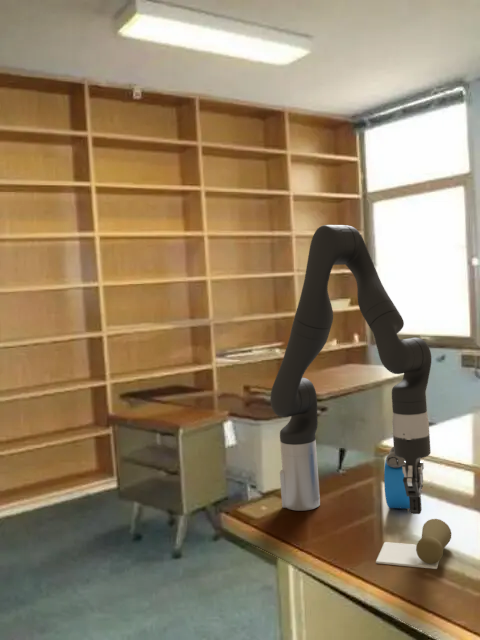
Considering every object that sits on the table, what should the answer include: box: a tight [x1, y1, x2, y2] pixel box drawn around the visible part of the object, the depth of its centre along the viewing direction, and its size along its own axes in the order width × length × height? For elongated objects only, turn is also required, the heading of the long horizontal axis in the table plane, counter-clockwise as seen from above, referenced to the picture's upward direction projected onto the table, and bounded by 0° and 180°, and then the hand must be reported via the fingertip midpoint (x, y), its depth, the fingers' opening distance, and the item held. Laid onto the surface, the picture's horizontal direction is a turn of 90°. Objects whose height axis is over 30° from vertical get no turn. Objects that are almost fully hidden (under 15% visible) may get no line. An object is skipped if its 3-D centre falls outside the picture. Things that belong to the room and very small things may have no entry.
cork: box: [416, 518, 452, 564], centre depth 134 cm, size 6×6×11 cm
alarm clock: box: [383, 446, 410, 512], centre depth 163 cm, size 13×6×15 cm, turn 159°
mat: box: [375, 541, 440, 570], centre depth 136 cm, size 12×10×1 cm
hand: (415, 512), depth 139 cm, fingers closed
